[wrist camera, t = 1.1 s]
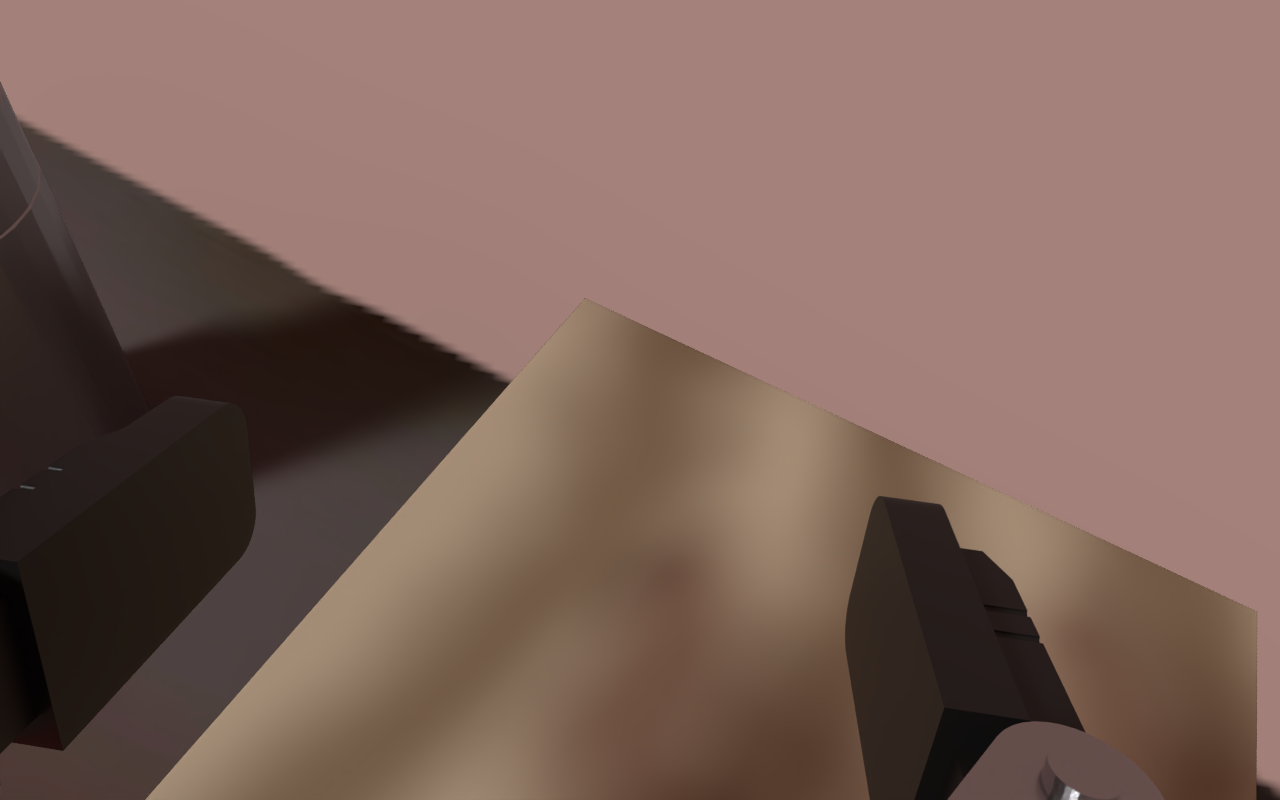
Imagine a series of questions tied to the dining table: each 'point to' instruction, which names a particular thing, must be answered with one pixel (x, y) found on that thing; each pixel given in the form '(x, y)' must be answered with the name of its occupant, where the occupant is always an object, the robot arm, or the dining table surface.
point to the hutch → (684, 609)
